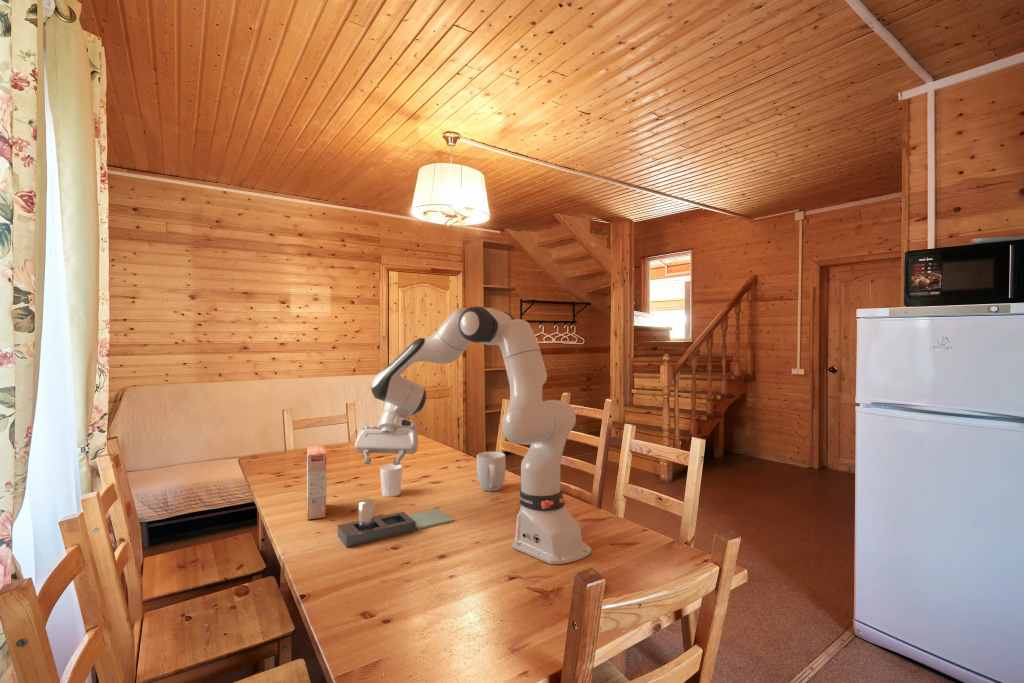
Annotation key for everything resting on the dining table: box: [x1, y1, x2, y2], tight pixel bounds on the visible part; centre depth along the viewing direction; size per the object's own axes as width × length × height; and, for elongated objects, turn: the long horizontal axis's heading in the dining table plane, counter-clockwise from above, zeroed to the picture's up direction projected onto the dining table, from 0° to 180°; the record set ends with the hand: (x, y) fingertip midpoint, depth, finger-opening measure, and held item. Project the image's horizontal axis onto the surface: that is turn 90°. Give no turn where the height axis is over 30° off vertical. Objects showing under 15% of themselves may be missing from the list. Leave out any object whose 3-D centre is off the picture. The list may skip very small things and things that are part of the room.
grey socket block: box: [337, 511, 417, 548], centre depth 144 cm, size 10×20×3 cm, turn 123°
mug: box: [476, 451, 507, 493], centre depth 183 cm, size 15×11×13 cm
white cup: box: [379, 463, 403, 497], centre depth 181 cm, size 8×8×10 cm
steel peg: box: [358, 498, 375, 531], centre depth 142 cm, size 4×4×10 cm
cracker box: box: [306, 445, 327, 520], centre depth 162 cm, size 14×6×21 cm, turn 23°
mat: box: [407, 508, 455, 531], centre depth 154 cm, size 12×12×1 cm
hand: (381, 463), depth 154 cm, fingers open, 8 cm apart
